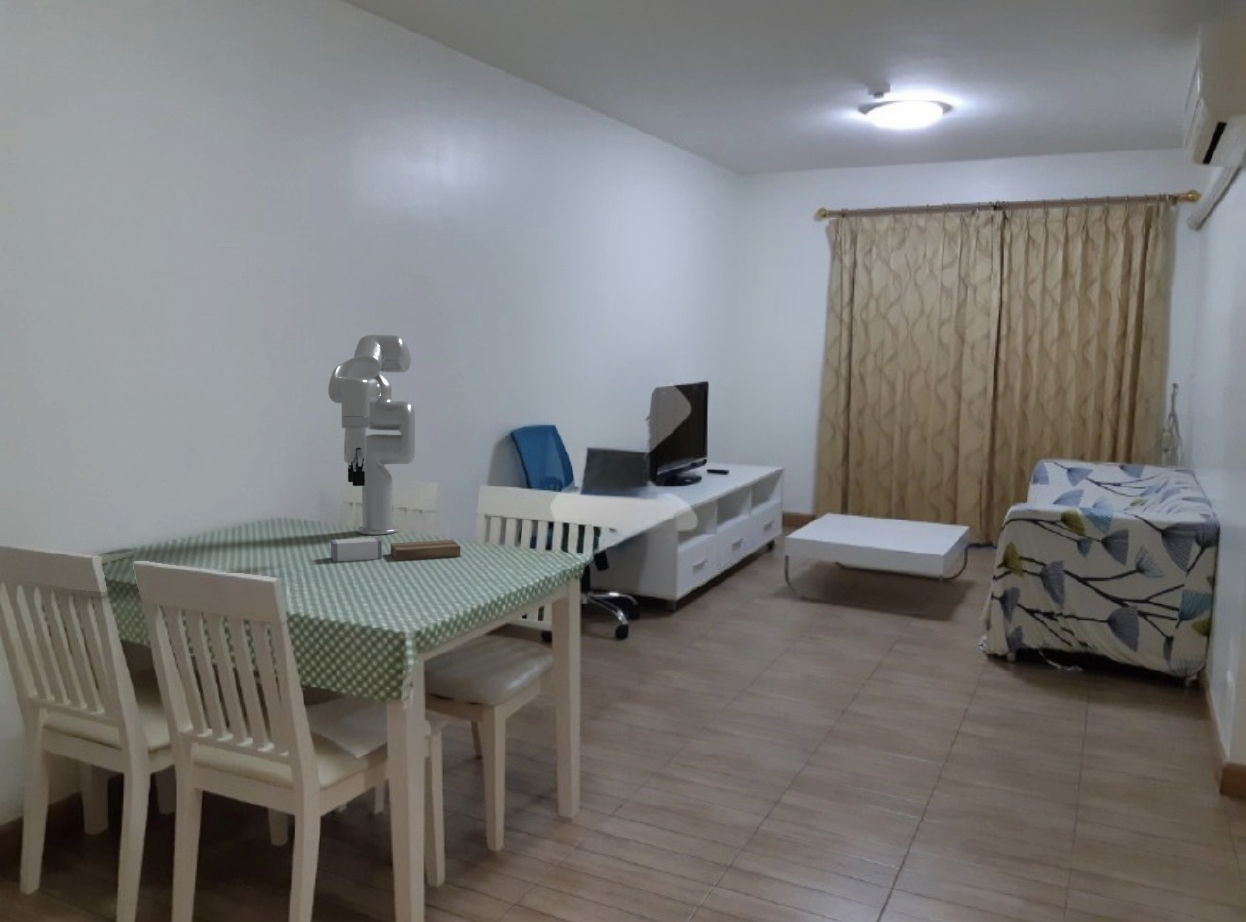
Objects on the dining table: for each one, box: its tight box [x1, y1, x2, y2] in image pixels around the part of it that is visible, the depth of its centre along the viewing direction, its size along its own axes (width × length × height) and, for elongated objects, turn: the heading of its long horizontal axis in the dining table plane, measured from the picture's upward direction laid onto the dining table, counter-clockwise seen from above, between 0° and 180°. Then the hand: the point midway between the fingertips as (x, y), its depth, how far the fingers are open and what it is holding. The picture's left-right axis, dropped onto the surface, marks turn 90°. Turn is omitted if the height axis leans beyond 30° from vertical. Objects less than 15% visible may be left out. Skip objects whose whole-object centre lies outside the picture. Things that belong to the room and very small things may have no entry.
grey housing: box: [330, 536, 383, 563], centre depth 270 cm, size 6×13×5 cm, turn 113°
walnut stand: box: [390, 539, 461, 561], centre depth 276 cm, size 10×18×3 cm, turn 113°
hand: (356, 483), depth 268 cm, fingers open, 9 cm apart
